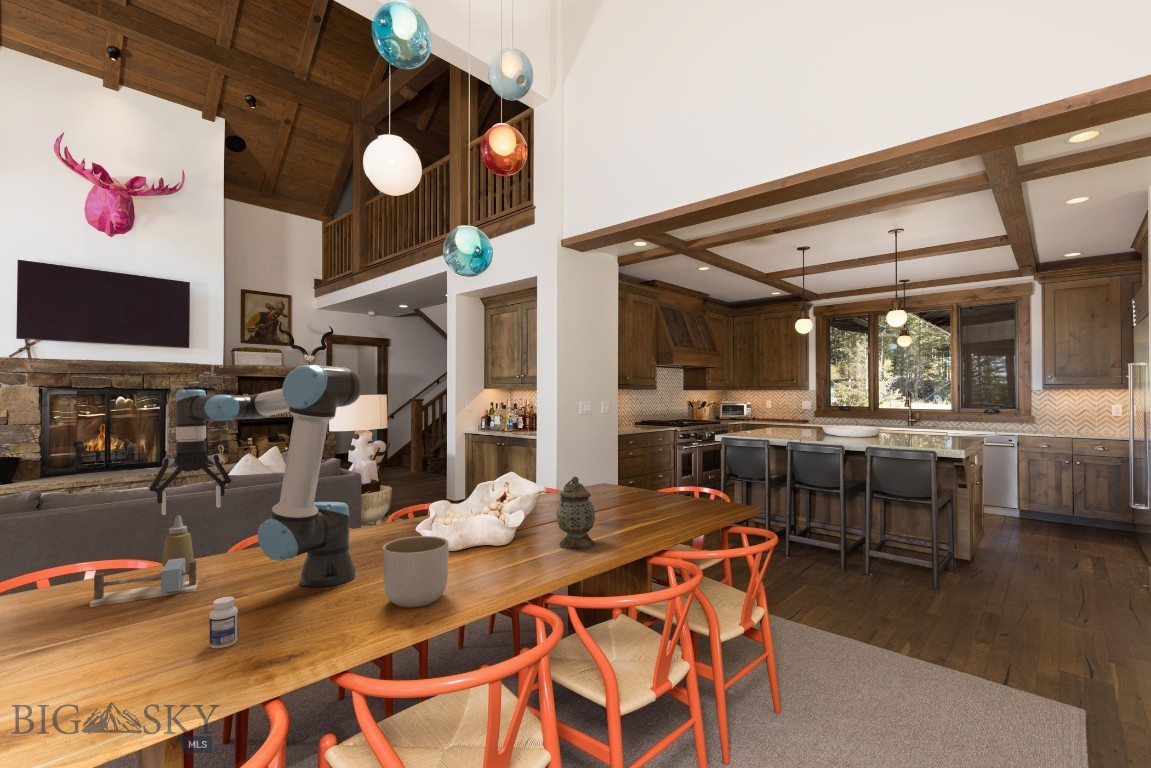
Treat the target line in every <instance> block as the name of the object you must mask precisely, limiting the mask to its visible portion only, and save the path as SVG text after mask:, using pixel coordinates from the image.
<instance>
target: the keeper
mask: <svg viewBox="0 0 1151 768" xmlns="http://www.w3.org/2000/svg"><path fill="white" fill-rule="evenodd" d="M184 571H185V558H180V559H172V560H168V562H167V563H166V565H165V566H164V567H163V568H162V569H161V571H160V572H161V573H160V575H161V578H160V582H161V583H160V585H161V593H165V592H171V591H178V590H179V589H180V587H181V585H182V583H183V582H185V579H186V575H182V572H184Z"/></svg>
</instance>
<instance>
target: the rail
mask: <svg viewBox="0 0 1151 768" xmlns="http://www.w3.org/2000/svg"><path fill="white" fill-rule="evenodd" d="M197 562H198V561H197V560H195V559H194V560H193V561H190V563H189V571H184V572H182V575H185V576H186V575H188V581H187V580H186V581H185V580H184V582H183V583H182V585H181V587H180V589H179V590H178V591H171V592H165V593H161V584H160V585H159V584H158V585H153V586H152V585H151V586H146V587H145V586H144V587H138V588H132V589H123V590H117V591H110V592H104V591H105V589H104V588H105V587H108V586H116V585H123V584H130V583H137V582H143V581H144V582H145V581H150V580H151V581H152V580H158V579H160V580H161V574H156V575H148V576H140V577H134V578H133V577H132V578H127V579H120V580H119V579H118V580H112V581H111V580H110V581H105V572H104V571H103V572H96V573H95V574H93V575H94V576H93V583H94V584H93V599H92V600H91V602H89V608H94V607H101V606H107V605H108V606H109V605H113V604H120V603H125V602H126V603H127V602H128V603H129V602H133V601H140V600H148V599H153V598H160V597H166V596H173V595H178V594H179V595H180V594H185V593H193V592H196V590H197V587H198V585H199V582H200V580H199V579H197Z"/></svg>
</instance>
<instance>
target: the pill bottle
mask: <svg viewBox="0 0 1151 768" xmlns="http://www.w3.org/2000/svg"><path fill="white" fill-rule="evenodd" d="M212 604H213V606H212V607H213V610H212V611H210V613H209V647H210V648H212V649H222V648H227V647H230V646H233V645H234V644H235V643H237V642H238V640H239V610H238V607H236V606H235V597H234V596H223V597H219V598H216V599H215V600H214V601H213V603H212Z"/></svg>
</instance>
